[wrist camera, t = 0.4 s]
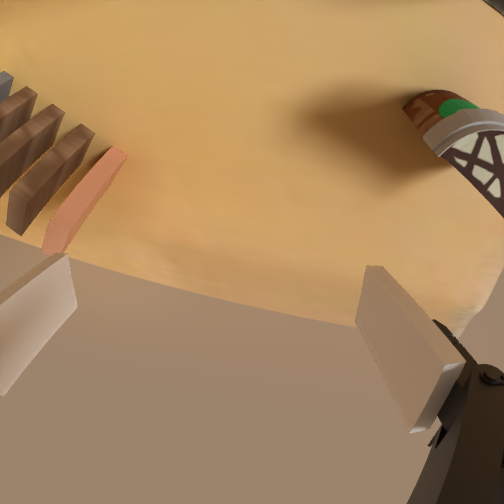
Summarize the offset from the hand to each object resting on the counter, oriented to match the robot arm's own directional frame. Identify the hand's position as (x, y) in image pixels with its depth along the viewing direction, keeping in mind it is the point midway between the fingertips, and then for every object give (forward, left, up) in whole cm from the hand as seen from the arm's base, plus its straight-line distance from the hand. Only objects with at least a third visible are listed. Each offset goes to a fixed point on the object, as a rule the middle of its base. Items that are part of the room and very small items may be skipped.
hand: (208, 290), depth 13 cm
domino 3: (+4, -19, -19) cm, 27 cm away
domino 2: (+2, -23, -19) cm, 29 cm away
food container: (-5, +18, -19) cm, 27 cm away
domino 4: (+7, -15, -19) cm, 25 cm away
